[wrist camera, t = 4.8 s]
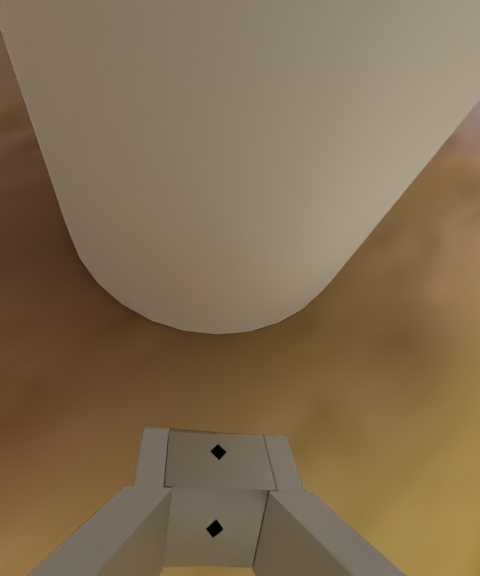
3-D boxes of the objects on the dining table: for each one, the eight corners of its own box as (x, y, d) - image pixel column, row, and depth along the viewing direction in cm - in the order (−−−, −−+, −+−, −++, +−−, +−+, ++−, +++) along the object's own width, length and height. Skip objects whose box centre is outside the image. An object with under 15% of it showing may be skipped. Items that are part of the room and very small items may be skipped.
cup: (0, 200, 16) (-297, -356, 6) (199, 73, 21) (242, -342, 11) (231, 402, 14) (443, 146, 4) (388, 210, 20) (663, -126, 9)
